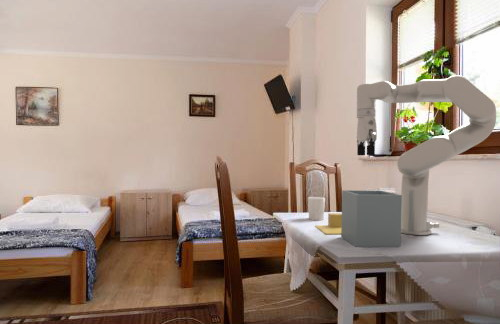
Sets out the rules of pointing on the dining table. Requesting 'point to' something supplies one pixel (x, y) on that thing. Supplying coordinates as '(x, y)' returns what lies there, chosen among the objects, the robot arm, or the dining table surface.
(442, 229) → the dining table surface
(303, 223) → the dining table surface
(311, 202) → the white cup
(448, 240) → the dining table surface
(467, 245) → the dining table surface
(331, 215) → the lid
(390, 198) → the tub
